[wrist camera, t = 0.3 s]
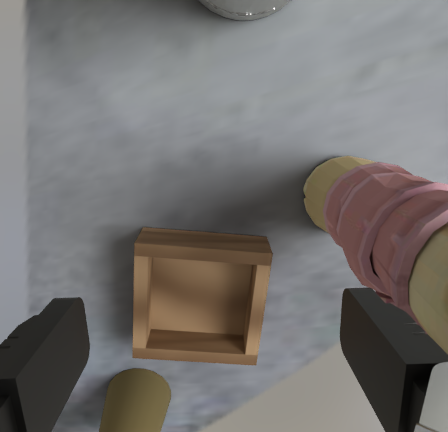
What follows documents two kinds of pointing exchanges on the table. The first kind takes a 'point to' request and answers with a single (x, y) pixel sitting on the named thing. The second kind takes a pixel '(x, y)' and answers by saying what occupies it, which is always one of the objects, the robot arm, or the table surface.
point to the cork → (135, 402)
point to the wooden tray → (199, 295)
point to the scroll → (388, 233)
